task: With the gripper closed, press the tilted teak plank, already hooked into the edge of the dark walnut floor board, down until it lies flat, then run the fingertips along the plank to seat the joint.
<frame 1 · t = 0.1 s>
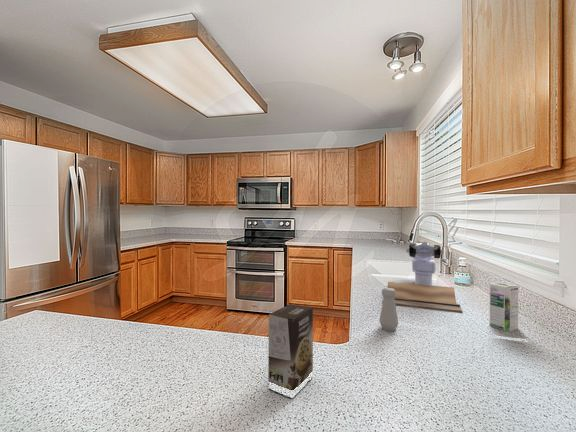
hand: (425, 251, 119), 22 cm above the countertop, tool horizontal, fingers open, 7 cm apart
teak plank: (419, 294, 122), point 3 cm above the countertop, hinge at 30.0°
coffee box: (291, 384, 63), on the countertop
syrup box: (503, 329, 93), on the countertop
salt shaker: (388, 329, 93), on the countertop
walnut board: (420, 307, 114), on the countertop
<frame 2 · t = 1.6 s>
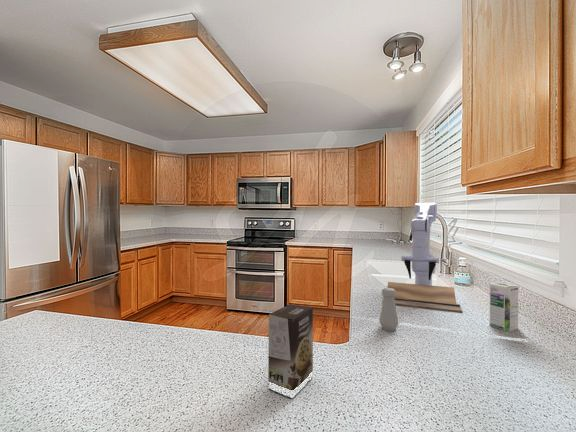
hand: (419, 278, 123), 9 cm above the countertop, tool pointing down, fingers open, 7 cm apart
nothing on the countertop moved.
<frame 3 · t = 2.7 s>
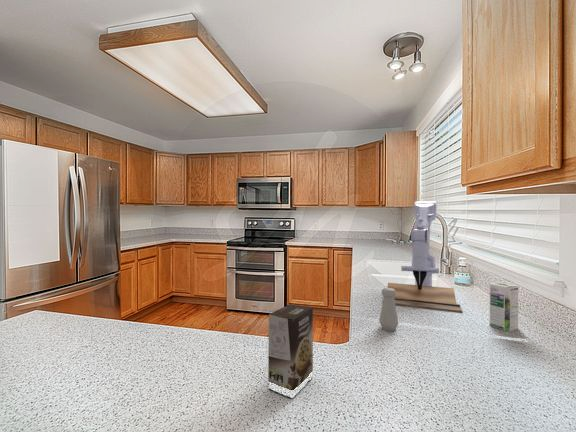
hand: (419, 288, 123), 5 cm above the countertop, tool pointing down, fingers closed, pressing on teak plank
teak plank: (419, 294, 122), point 3 cm above the countertop, hinge at 27.2°, touching gripper
everything else where it was.
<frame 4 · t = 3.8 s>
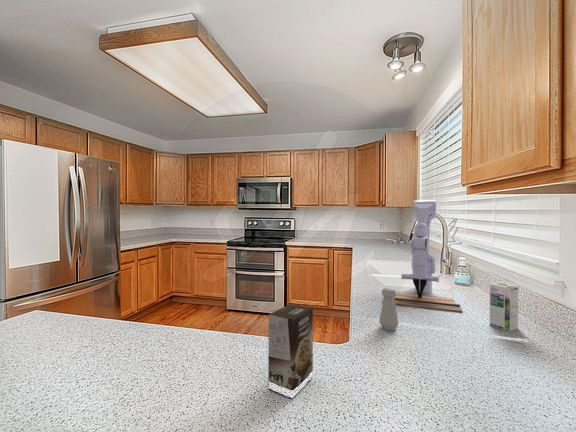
hand: (419, 297, 123), 2 cm above the countertop, tool pointing down, fingers closed
teak plank: (419, 299, 123), point 1 cm above the countertop, hinge at 0.1°
everything else where it was.
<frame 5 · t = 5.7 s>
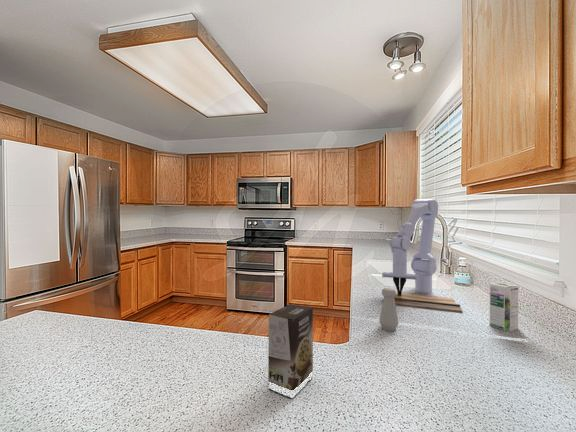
hand: (399, 294, 127), 2 cm above the countertop, tool pointing down, fingers closed
nothing on the countertop moved.
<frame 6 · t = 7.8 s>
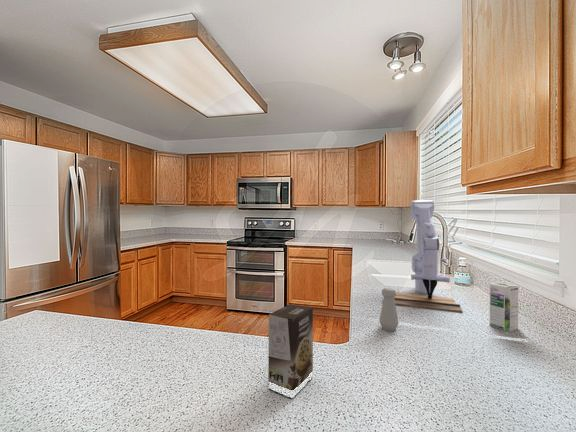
hand: (429, 297, 122), 2 cm above the countertop, tool pointing down, fingers closed
nothing on the countertop moved.
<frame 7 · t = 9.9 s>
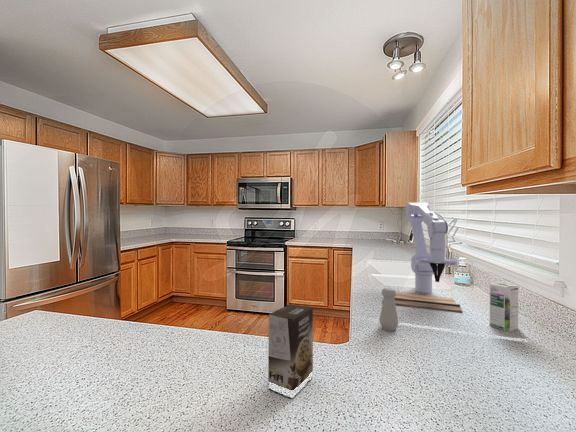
hand: (437, 281, 121), 9 cm above the countertop, tool pointing down, fingers closed
nothing on the countertop moved.
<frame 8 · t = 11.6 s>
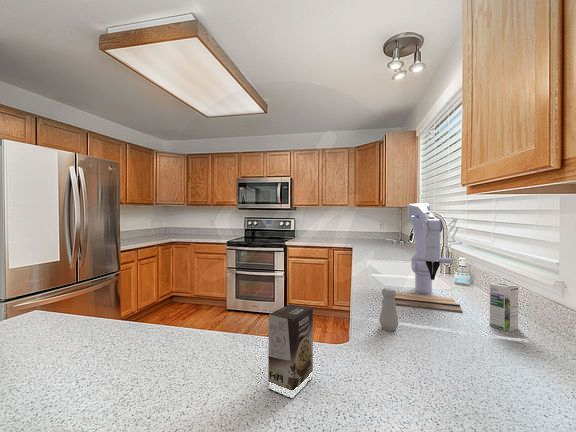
hand: (432, 279, 122), 9 cm above the countertop, tool pointing down, fingers closed
nothing on the countertop moved.
at the end: teak plank at +0° (first picture: +30°); syrup box moved 0.2 cm from its start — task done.
